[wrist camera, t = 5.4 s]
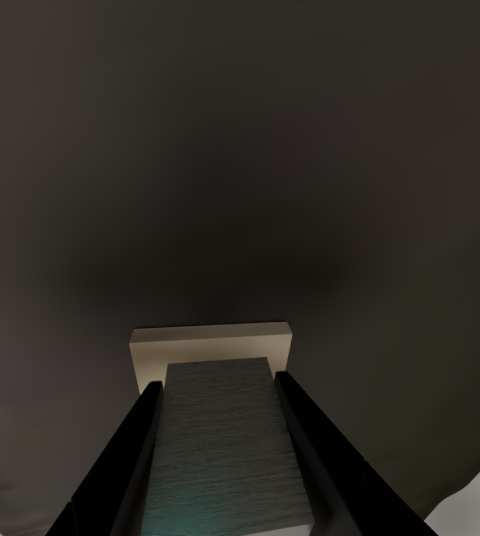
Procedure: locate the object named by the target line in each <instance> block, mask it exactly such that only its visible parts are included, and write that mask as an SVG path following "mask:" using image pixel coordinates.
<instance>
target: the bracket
mask: <svg viewBox="0 0 480 536" xmlns="http://www.w3.org/2000/svg"><path fill="white" fill-rule="evenodd" d="M291 339H292V332H291V330H290V327H289V325H288V323H287V322H269V323H249V324H228V325H207V326H187V327H166V328H145V329H134V331H133V333H132V336H131V339H130V342H129V346H130V350H131V355H132V359H133V364H134V369H135V373H136V378H137V382H138V387H139V392H140V395H141V394H142V392H143V391H144V389H145V388H146V386H147V385H148V384H149V382H151V381H162V382H163V388H164V385H165V378H166V372H167V366H168V364H169V363H184V362H199V361H213V360H228V359H242V358H257V357H267V359H268V362H269V366H270V369H271V373H272V376H273V379H274V377H275V373H276V372H277V371H285V369H286V364H287V359H288V354H289V349H290V344H291Z"/></svg>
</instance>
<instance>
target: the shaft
mask: <svg viewBox="0 0 480 536" xmlns="http://www.w3.org/2000/svg"><path fill="white" fill-rule="evenodd" d="M314 524H315V521H314V518H313V514H312V511H311V507H310V504H309V500H308V497H307V493H306V490H305V487H304V483H303V480H302V476H301V473H300V469H299V466H298V462H297V459H296V455H295V452H294V449H293V445H292V442H291V438H290V435H289V431H288V428H287V424H286V421H285V418H284V415H283V412H282V408H281V405H280V401H279V398H278V394H277V391H276V387H275V384H274V379H273V376H272V373H271V369H270V366H269V362H268V359H267V357H257V358H242V359H228V360H213V361H199V362H184V363H169V364H168V366H167V372H166V378H165V385H164V393H163V400H162V406H161V412H160V419H159V425H158V431H157V435H156V441H155V447H154V454H153V460H152V466H151V473H150V479H149V485H148V491H147V498H146V504H145V510H144V516H143V523H142V529H141V535H140V536H309V534H310V532H311V530H312V528H313V526H314Z"/></svg>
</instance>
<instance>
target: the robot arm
mask: <svg viewBox="0 0 480 536" xmlns="http://www.w3.org/2000/svg"><path fill="white" fill-rule="evenodd" d="M274 384H275V387H276V391H277V394H278V398H279V401H280V405H281V408H282V412H283V415H284V418H285V421H286V424H287V428H288V431H289V435H290V438H291V442H292V445H293V449H294V452H295V455H296V459H297V462H298V466H299V469H300V473H301V476H302V480H303V483H304V487H305V490H306V493H307V497H308V500H309V504H310V507H311V511H312V514H313V518H314V521H315V524H314V526H313V528H312V530H311V532H310V536H438V535H437V534H436V533H435V532H434V531H433V530H432V529H431V528H430V527H429V526H428V525H427V524H426V523H425V522H424V521H423V520H422V519H421V518H420V517H419V516H418V515H417V514H416V513H415V512H414V511H413V510H412V509H411V508H410V507H409V506H408V505H407V504H406V503H405V502H404V501H403V500H402V499H401V498H400V497H399V496H398V495H397V494H396V493H395V492H394V491H393V490H392V489H391V488H390V486H389V485H388V484H387V483H386V482H385V481H384V480H383V479H382V478H381V477H380V476H379V474H378V473H377V472H376V471H375V470H374V469H373V468H372V467H371V465H370V464H369V463H368V462H367V461H365V460H364V458H363V457H362V455H361V454H360V453H359V452H358V451H357V450H356V449H355V447H354V446H353V445H352V444H351V443H350V442H349V441H348V440H347V438H346V437H345V436H344V435H343V434H342V433H341V432H340V431H339V429H338V428H337V427H336V426H335V425H334V424H333V423H332V421H331V420H330V419H329V418H328V417H327V416H326V415H325V414H324V412H323V411H322V410H321V409H320V408H319V407H318V406H317V405H316V403H315V402H314V401H313V400H312V399H311V398H310V397H309V395H308V394H307V393H306V392H305V391H304V390H303V389H302V388H301V386H300V385H299V384H298V383H297V382H296V381H295V380H294V379H293V377H292V376H291V375H290V374H289V373H288V372H287V371H277V372H276V373H275V377H274ZM163 393H164V388H163V382H162V381H151V382H149V384H148V385H147V386H146V388H145V389H144V391H143V392H142V394H141V395H140V397H139V398H138V400H137V401H136V403H135V404H134V406H133V407H132V409H131V410H130V412H129V413H128V414H127V416H126V417H125V419H124V420H123V422H122V423H121V425H120V426H119V428H118V429H117V431H116V432H115V434H114V435H113V437H112V438H111V440H110V441H109V443H108V444H107V446H106V447H105V449H104V450H103V452H102V453H101V454H100V456H99V457H98V459H97V460H96V462H95V463H94V465H93V466H92V468H91V469H90V471H89V472H88V474H87V475H86V477H85V478H84V480H83V481H82V483H81V484H80V486H79V487H78V489H77V490H76V491H75V493H74V494H73V496H72V497H71V502H68V503H67V505H66V506H65V508H64V509H63V511H62V512H61V513H60V515H59V516H58V518H57V519H56V521H55V522H54V524H53V525H52V527H51V528H50V529H49V531H48V532H47V534H46V535H45V536H140V535H141V529H142V523H143V516H144V510H145V504H146V498H147V491H148V485H149V479H150V473H151V466H152V460H153V454H154V447H155V441H156V435H157V431H158V425H159V419H160V412H161V406H162V400H163Z"/></svg>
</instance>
